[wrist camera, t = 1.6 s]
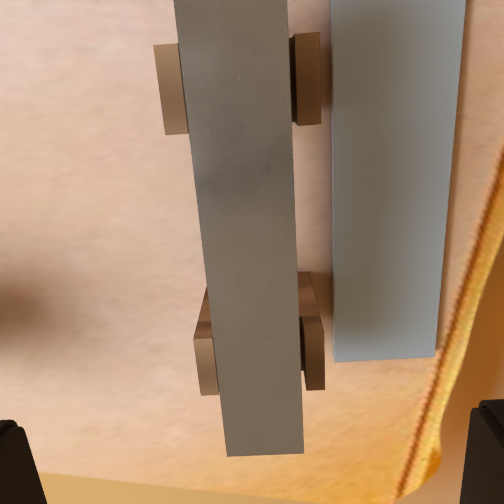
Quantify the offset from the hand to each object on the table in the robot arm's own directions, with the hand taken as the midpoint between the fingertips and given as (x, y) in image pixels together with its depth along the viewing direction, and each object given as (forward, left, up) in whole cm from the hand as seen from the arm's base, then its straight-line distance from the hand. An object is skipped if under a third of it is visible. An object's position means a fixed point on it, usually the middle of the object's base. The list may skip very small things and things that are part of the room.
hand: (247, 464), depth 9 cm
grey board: (0, +8, -21) cm, 22 cm away
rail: (0, 0, -15) cm, 15 cm away
